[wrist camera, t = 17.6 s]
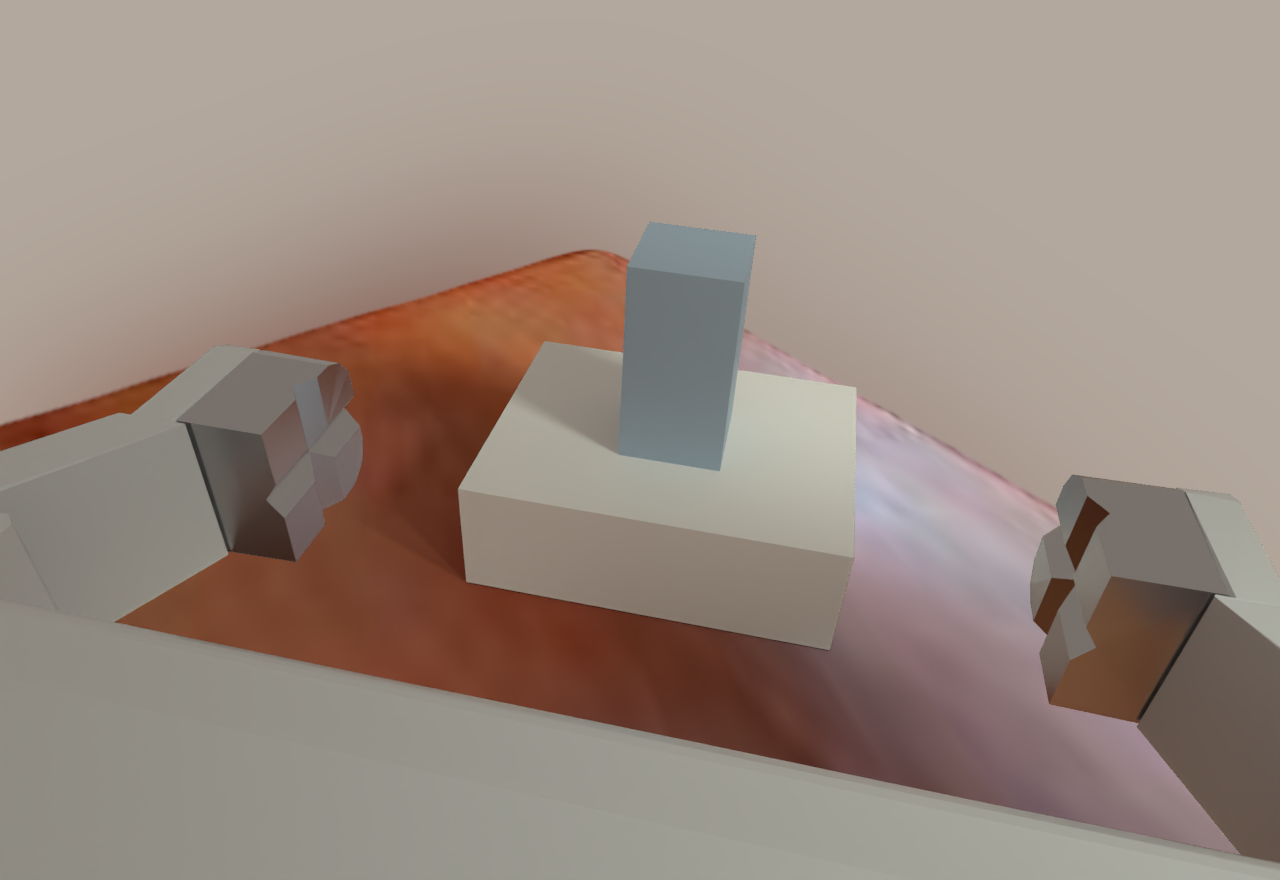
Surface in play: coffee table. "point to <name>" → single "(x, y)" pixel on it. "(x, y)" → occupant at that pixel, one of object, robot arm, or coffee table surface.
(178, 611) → the coffee table surface
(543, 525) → the base
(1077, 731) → the coffee table surface
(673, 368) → the slate block
